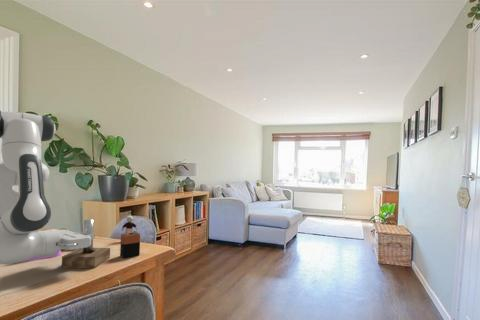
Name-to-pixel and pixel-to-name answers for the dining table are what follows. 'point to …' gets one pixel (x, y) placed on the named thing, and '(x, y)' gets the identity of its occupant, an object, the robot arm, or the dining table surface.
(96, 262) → the socket block
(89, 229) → the pin
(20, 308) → the dining table surface
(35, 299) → the dining table surface
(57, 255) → the bracket
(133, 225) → the grandmother figurine
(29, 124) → the robot arm
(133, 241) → the battery
